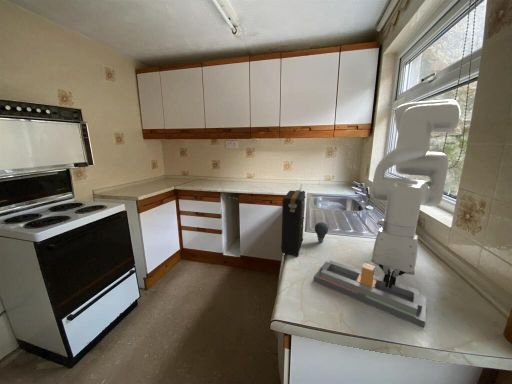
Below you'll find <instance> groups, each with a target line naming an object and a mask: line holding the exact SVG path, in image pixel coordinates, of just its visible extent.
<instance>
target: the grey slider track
mask: <svg viewBox="0 0 512 384" xmlns="http://www.w3.org/2000/svg"><path fill="white" fill-rule="evenodd" d="M361 272H362V269H357V268H354V267H351V266H349V265H346V264H343V263H340V262H337V261H334V260H331V259H330V260H329V262H328V261H325V262H324V263H323V264H322V266H321V267H320V268H319V270H318V271H317V272H316V273H314V275H313V282H314V283H317V284H319V285H321V286H323V287H326V288H329V289H331V290H333V291H336V292H338V293H339V294H343V295H345V296H347V297H350V298H352V299H354V300H356V301H359V302H362V303H364V304H366V305H368V306H370V307H373V308H376V309H378V310H380V311H382V312H385V313H387V314H389V315H392V316H393V317H397V318H399V319H401V320H403V321H406V322H409V323H410V324H413V325H415V326H417V327H420V328H422V329H425V326H426V321H427V320H426V317H427V316H426V314H427V313H426V312H427V311H426V310H427V297H426V296H423V295H422V294H419V291H420V290H418V289H416V288H413V287H409V286H407V285H404V284H401V283H398V282H396V283H395V286H394V285H392V288H391V289H390V288H389V285H388V287H385V283H386V282H383V279H384V277H381V276H378V275H375V274H374V276H373V279H375V280H377V283H376V287H375V288H372V287H370V286H367V285H364V284H362V283H359V282H356V281H357V279H358V277H359V275H360V274H361ZM389 281H390V280H389Z"/></svg>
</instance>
